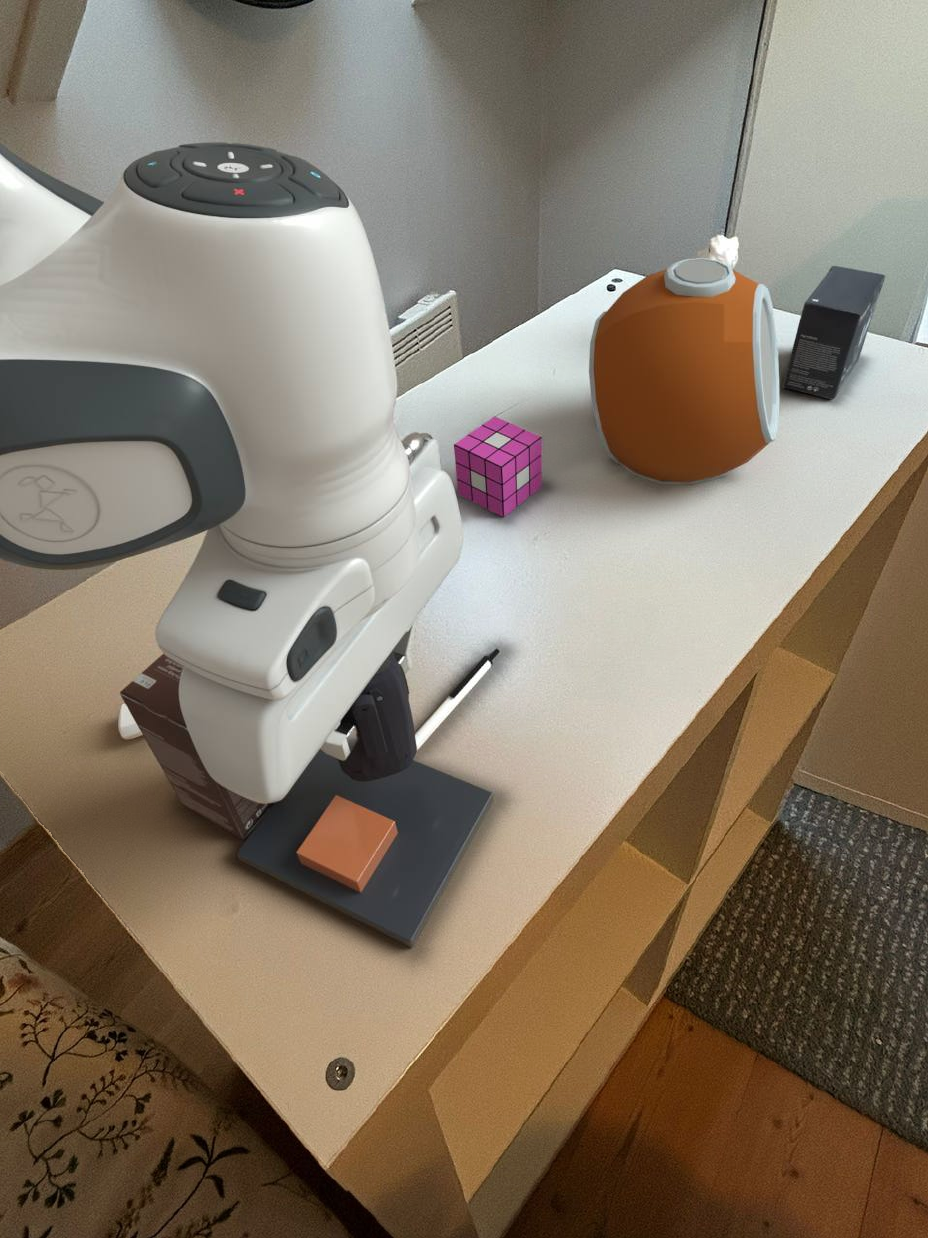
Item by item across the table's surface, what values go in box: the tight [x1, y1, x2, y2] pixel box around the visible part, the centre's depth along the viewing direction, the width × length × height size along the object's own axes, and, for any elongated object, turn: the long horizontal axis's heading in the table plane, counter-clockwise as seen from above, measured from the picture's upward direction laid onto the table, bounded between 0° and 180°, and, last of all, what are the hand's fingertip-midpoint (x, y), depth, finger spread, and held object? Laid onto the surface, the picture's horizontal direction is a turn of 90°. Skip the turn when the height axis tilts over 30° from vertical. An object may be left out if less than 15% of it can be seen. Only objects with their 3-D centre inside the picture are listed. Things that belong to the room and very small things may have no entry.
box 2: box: [782, 265, 886, 400], centre depth 84 cm, size 9×6×10 cm, turn 147°
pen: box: [415, 648, 500, 751], centre depth 59 cm, size 1×19×1 cm, turn 144°
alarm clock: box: [588, 257, 780, 485], centre depth 74 cm, size 19×18×17 cm
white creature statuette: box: [696, 234, 740, 270], centre depth 89 cm, size 10×9×12 cm
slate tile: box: [236, 749, 494, 949], centre depth 54 cm, size 13×11×1 cm
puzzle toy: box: [453, 415, 543, 518], centre depth 76 cm, size 6×6×6 cm
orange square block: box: [296, 795, 398, 893], centre depth 52 cm, size 4×4×2 cm
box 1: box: [119, 653, 273, 840], centre depth 52 cm, size 6×4×12 cm
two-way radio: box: [337, 652, 418, 782], centre depth 47 cm, size 6×4×15 cm
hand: (368, 708), depth 49 cm, fingers closed on two-way radio, 5 cm apart
